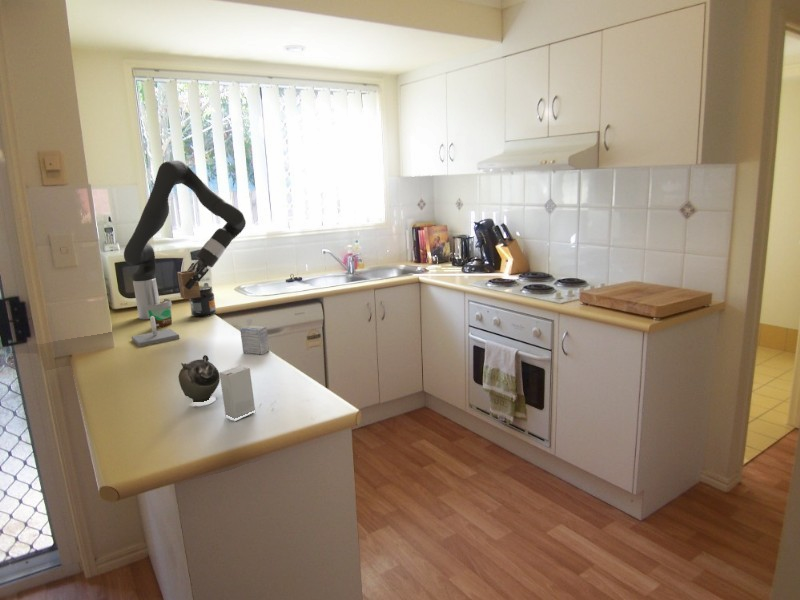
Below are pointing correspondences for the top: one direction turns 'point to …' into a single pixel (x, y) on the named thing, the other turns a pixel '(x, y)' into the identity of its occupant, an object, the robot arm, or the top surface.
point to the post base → (156, 338)
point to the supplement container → (203, 303)
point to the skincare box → (237, 391)
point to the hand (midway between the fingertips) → (184, 287)
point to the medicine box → (254, 339)
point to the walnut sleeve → (183, 280)
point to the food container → (161, 313)
